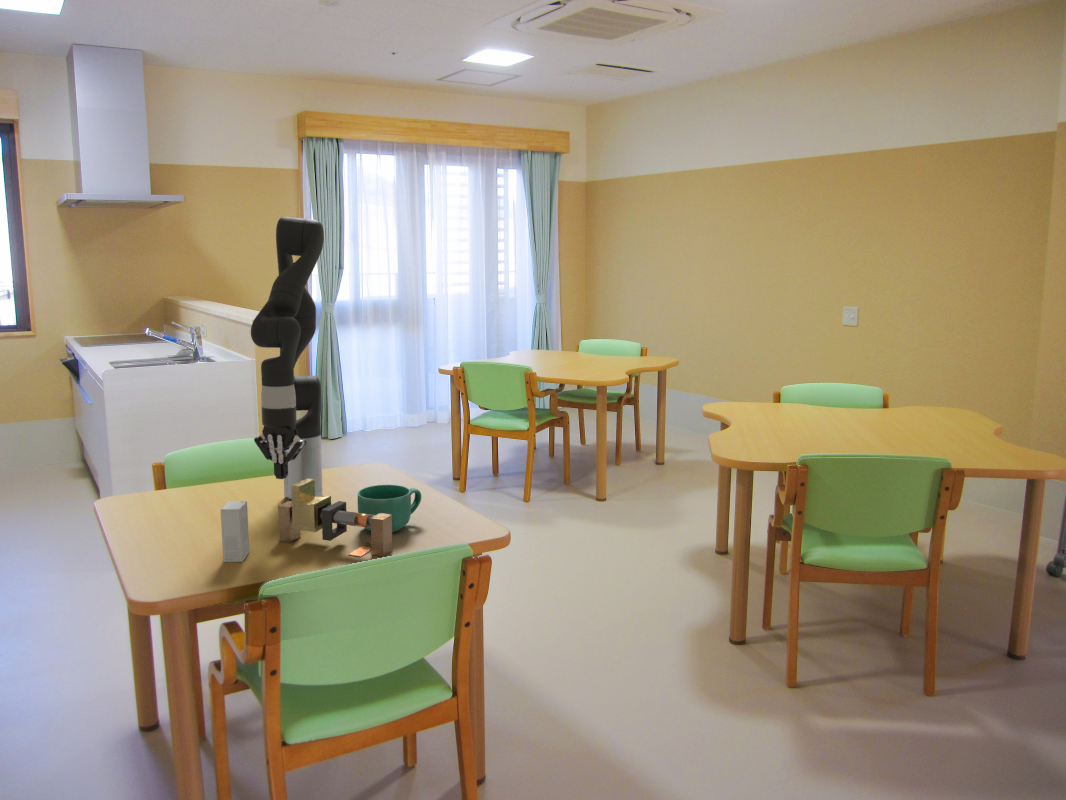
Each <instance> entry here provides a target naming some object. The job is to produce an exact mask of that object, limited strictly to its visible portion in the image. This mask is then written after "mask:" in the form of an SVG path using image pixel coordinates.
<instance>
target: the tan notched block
mask: <svg viewBox="0 0 1066 800" xmlns="http://www.w3.org/2000/svg"><path fill="white" fill-rule="evenodd" d="M291 489H292V500H291V501H292V519H293V529H298V530H300V531H306V532H311V533H312V532H313V533H316V532H319V531H320V530H322V521H318V508H326V507H328V506H330V505H332V495H328V494H327V495H325V496H322V497H318V496H315V480H314V479H305V480H303V481H301V482H298V483H296V484H294V485H291Z"/></svg>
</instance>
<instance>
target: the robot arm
mask: <svg viewBox="0 0 1066 800" xmlns="http://www.w3.org/2000/svg"><path fill="white" fill-rule="evenodd" d="M275 228H276V229H275V243H276V244H275V245H276V257H277V270H278V275H277V276H276V278H275V279H274V282H273V283H272V286H271V290H270V292H269V296H268V299H267V301H266V302H265V304H264V305H263V306H262V308H261V309H260V310H259V312H258V313H257V314H256V316H255V317H254V319H253V321H252V323H251V327H250V337H251V340H252V342H253V343H254V345H256V346H257V347H259V348H267V349H269V348H270V349H271V348H272V349H274V348H275V349H276V348H277V349H279V356H276V357H270V358H265V359H264V360H263V361H262V362H261V366H260V373H261V375H260V376H261V391H260V392H261V393H260V400H261V401H260V402H261V424H262V425H263V429H262V433H261V434H260V435H259V436H257V437H254V439H253V441H254V443H255V444H256V446H257V448H258V449H259V450H260V452H261V453H262V454H263V456H264V458H265V460H267V461H269V460H270V461H271V462H272V463H273V473H274V477H275V478H276V480H283V492H284V498H287V499H289V500H290V501H292V489H291V485H294V484H296V483H298V482H301V481H303V480H305V479H314V480H315V496H318V497H323V465H322V464H323V460H322V456H323V455H322V428H321V427H322V426H321V425H322V424H321V413H322V412H321V409H322V408H321V406H322V383H321V381H320V379H319V378H318V376H315V375H295V372H294V370H295V366H296V364H297V362H298V360H299V359H300V356H301V355H302V353H303V352H304V350H306V348H307V346H308V345H310V344H309V343H310V342H311V341H312V339H313V337H314V335H315V333H316V329H317V308H316V307H317V306H316V304H315V302H314V299H313V298H312V296H311V294H310V293H309V291H308V290H307V288H306V286H307V283H308V281H309V278H310V277H311V275H312V273H313V271H314V269H315V267H316V265H317V262H318V260H319V258H320V255H321V253H322V250H323V247H324V243H325V242H324V240H325V231H324V226H323V224H322V222H321V221H319V220H317V219H312V218H303V217H294V216H293V217H292V216H282V217H281V216H280V218H279V219H278V220H277V223H276V227H275ZM293 256H297V257H298V258H297V260H295V261H294V259H293V258H294V257H293ZM297 411H306V414H304V415H303V416H302V417H301V418H298V419H297Z"/></svg>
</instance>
